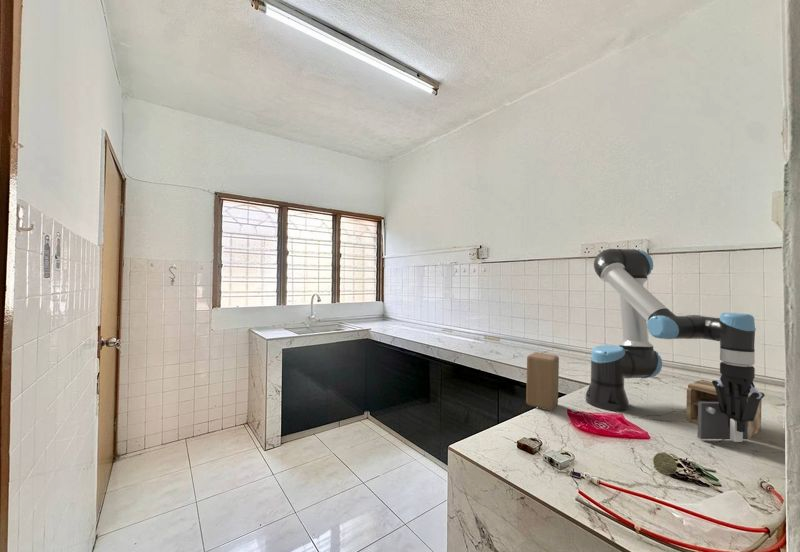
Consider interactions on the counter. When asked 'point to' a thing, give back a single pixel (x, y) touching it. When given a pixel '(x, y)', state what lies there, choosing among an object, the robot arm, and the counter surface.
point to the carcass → (707, 393)
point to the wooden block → (542, 380)
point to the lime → (665, 463)
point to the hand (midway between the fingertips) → (736, 440)
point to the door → (715, 422)
